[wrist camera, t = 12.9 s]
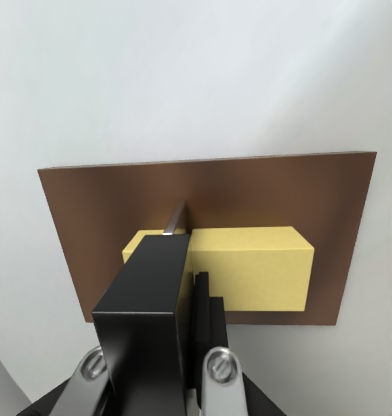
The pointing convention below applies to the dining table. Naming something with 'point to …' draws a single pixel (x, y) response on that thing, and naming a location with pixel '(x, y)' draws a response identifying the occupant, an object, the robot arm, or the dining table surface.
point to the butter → (254, 266)
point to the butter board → (214, 215)
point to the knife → (152, 325)
